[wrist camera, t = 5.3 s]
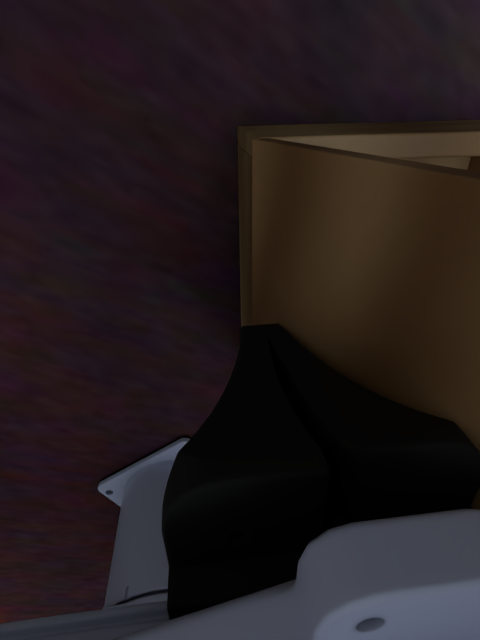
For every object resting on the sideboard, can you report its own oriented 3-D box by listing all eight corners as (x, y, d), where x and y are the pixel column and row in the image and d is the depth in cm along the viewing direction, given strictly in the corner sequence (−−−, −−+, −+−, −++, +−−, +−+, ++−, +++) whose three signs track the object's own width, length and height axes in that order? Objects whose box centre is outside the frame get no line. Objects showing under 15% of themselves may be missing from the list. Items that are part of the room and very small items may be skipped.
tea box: (484, 119, 19) (607, 127, 13) (426, 338, 25) (492, 404, 19) (237, 125, 17) (258, 137, 12) (241, 352, 24) (256, 427, 18)
